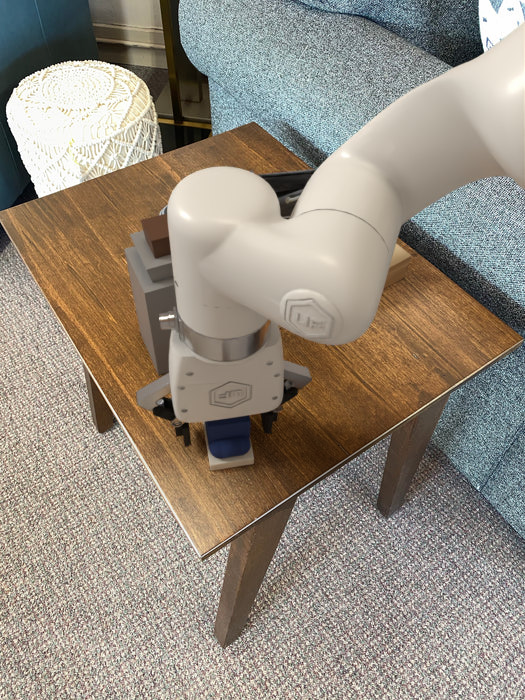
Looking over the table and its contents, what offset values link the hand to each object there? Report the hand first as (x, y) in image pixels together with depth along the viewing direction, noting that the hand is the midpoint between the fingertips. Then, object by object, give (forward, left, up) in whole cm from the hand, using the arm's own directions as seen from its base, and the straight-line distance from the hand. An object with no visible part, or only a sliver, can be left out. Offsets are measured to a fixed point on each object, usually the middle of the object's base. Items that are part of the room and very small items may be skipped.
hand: (226, 428), depth 59 cm
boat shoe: (+7, -34, -1) cm, 35 cm away
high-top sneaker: (0, 0, -1) cm, 1 cm away
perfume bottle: (+9, -10, -1) cm, 14 cm away
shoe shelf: (-8, -30, -1) cm, 31 cm away
